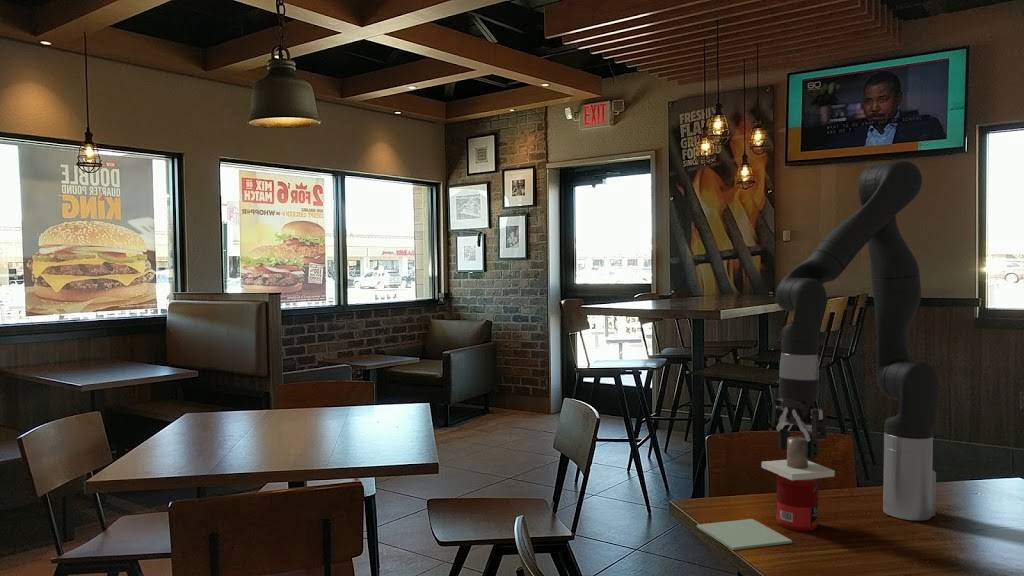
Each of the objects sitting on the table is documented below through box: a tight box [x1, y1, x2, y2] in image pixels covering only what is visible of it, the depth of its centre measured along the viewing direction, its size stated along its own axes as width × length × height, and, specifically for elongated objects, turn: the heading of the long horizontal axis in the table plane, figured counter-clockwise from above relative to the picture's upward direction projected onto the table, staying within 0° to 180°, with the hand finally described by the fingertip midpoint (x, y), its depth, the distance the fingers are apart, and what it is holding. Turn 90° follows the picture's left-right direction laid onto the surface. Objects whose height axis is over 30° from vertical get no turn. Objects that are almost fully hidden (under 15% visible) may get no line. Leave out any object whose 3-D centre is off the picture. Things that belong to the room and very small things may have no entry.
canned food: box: [775, 474, 819, 532], centre depth 155 cm, size 8×8×11 cm
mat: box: [696, 518, 793, 551], centre depth 149 cm, size 13×13×1 cm
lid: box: [761, 436, 836, 480], centre depth 155 cm, size 10×10×7 cm
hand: (797, 454), depth 155 cm, fingers open, 8 cm apart
